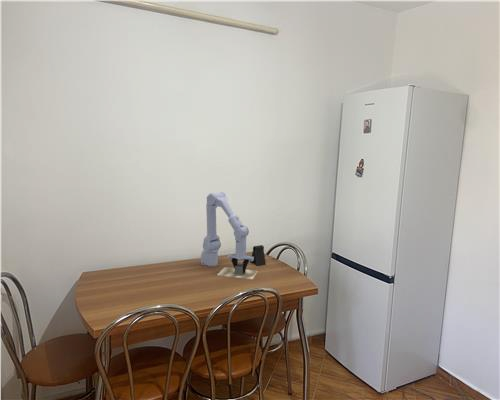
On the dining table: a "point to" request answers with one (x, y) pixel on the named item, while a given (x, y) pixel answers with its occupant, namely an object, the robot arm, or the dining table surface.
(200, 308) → the dining table surface
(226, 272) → the board
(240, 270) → the block
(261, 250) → the door stopper
